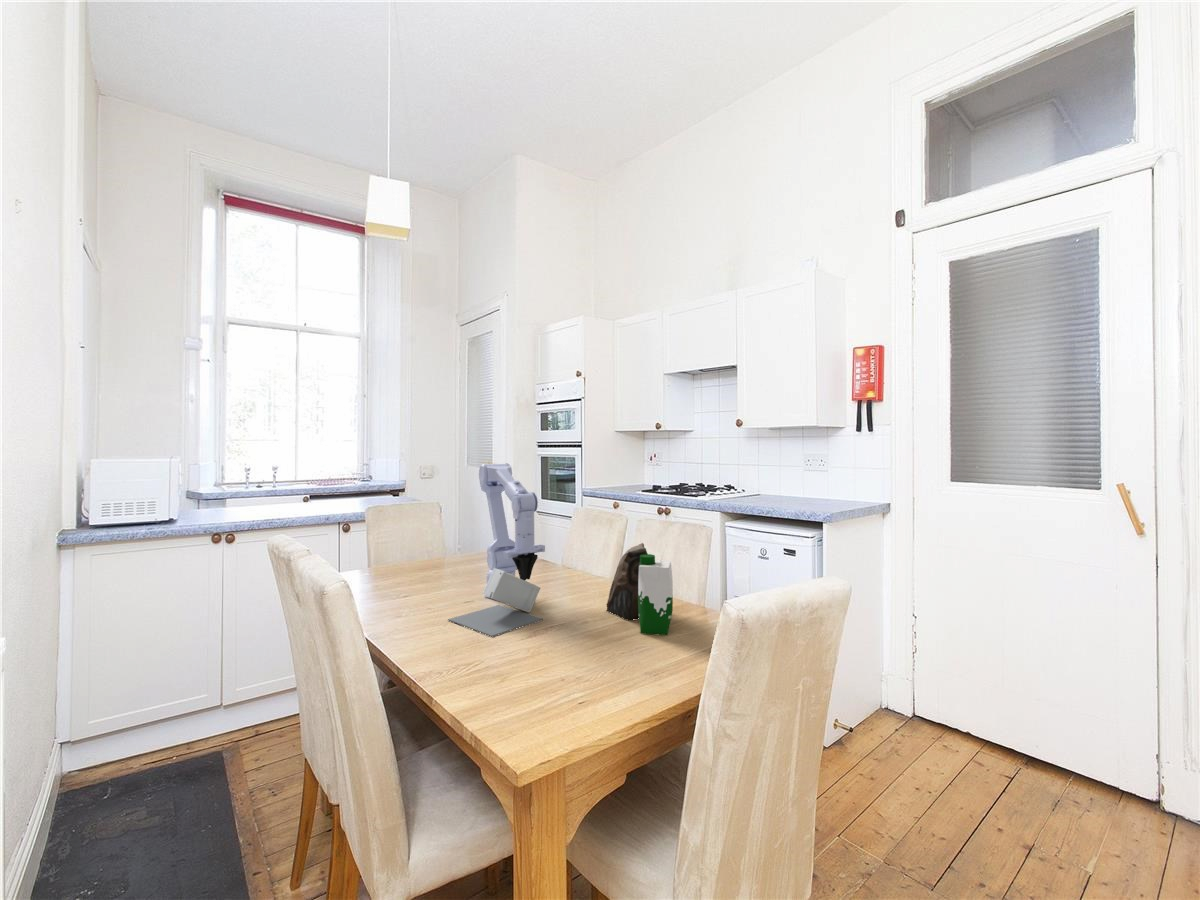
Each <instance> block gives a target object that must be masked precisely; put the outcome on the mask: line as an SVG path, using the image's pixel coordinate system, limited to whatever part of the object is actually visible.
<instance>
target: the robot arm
mask: <svg viewBox="0 0 1200 900" xmlns="http://www.w3.org/2000/svg"><path fill="white" fill-rule="evenodd" d="M478 479H479V485H480V489H481V491H482V492H483V493H485V495H486V499H487V500H486V501H487V506H488V512H489V519H490V523H491V530H492V537H493V542H492V543H490V544H489V546H488V547H487V550H486V554H487V555H486V557H487V558H486V563H487V567H488V568H489V571H488V572H487V575H486V583H487V582H488V580H489V578H490V576H491V574H492V571H493V569H494V568H496V569H499V570H502V571H504V572H506V573H509V574H511V575H513V576H515V577H516V571H517V573H518V576H519V578H520V579H522V580H525V581H527V580H530V579H531V575H532V571H533V568H534V566H535V563H536V562H537V560H538V558H539V557H538V554H537V553H544V552H546V545H545V544H537V545H536V544H535V512H537V510H538V508H539V507H538V506H539V504H538V497H537V495H536V493H535V492H530V491H528V490H527V489H526V488H525V487H524V486H523V484H522V483H521V481H519V480H515V479H514V477H513V469H512V465H510V464H509V463H508V462H507V463H506V462H505V463H489V464H488V463H482V464H481V465H480V466H479V469H478ZM502 492H504V493H505V495H506V497H507V498H508V500H509V501H510V503H511V510H512V517H513V519H514V540H512V539H511V538H510V536H509V532H508V531H509V530H508V525H507V519H506V518H507V517H506V514H505V513H506V512H505V507H504V504H503V503H504V502H503V497H502V496H503V495H502ZM484 598H487V599H491V600H493V599H492V598H490V597H488V596H486V595H485V594H484Z"/></svg>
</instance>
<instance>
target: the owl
mask: <svg viewBox="0 0 1200 900" xmlns="http://www.w3.org/2000/svg"><path fill="white" fill-rule="evenodd" d="M643 554H649V553H648V550H647V548H646V547H645V544H644V543H643V542H642V543H640V544H637V545H635V546H632V547H630V548H629V549H627V550H626V551H625V553H624V554H623V555H622V556H621V558H620V560H619V562H618V564H617V567H616V571H615V574H614V577H613V579H612V582H611V585H610V590H609V594H608V599H607V602H606V612H607V611H609V612H608V613H610V612H611V613H610V614H612V613H613V614H612V615H614V614H616V615H615V616H617V615H618V616H620V617H619V618H622V617H623V618H624V619H623V618H622V619H623V620H625V619H628V620H627V621H629V620H633V619H638V618H639V608H638V580H639V563H640V555H643ZM618 616H617V617H618ZM638 620H639V619H638Z"/></svg>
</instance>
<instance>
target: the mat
mask: <svg viewBox="0 0 1200 900" xmlns="http://www.w3.org/2000/svg"><path fill="white" fill-rule="evenodd" d="M448 620H449V621H448ZM541 620H542V621H543V620H544V618H542V617H539V616H536V615H534V614H533V615H532V614H530V613H528V612H523V611H521V610H520V611H519V610H516V609H515V608H514V609H513V608H512V607H508V606H504V605H500V604H497V605H494V606H490V607H486V608H483V609H479V610H476V611H472V612H469V613H465V614H461V615H459V616H455V617H452V618H447V621H448V622H450V621H451V623H453V622H454V623H453V624H456V623H457V624H456V625H458V624H459V625H458V626H461V625H462V626H461V627H464V626H465V627H464V628H466V627H467V628H466V629H469V628H470V630H471V629H473V630H472V631H474V630H475V631H474V632H477V631H478V632H477V633H479V632H481V633H480V634H482V633H483V635H485V634H486V635H485V636H487V635H489V636H488V637H490V636H491V637H490V638H493V637H492V636H494V637H496V635H497V636H499V635H498V634H500V635H502V634H501V633H503V634H505V633H504V632H506V633H508V632H507V631H509V632H511V631H510V630H512V631H514V630H513V629H515V630H517V629H516V628H518V629H520V628H519V627H521V628H523V627H522V626H524V627H526V626H525V625H527V626H529V624H530V625H533V624H535V622H536V623H539V622H542V621H541ZM538 621H539V622H538ZM532 623H533V624H532Z"/></svg>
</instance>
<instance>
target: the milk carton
mask: <svg viewBox="0 0 1200 900" xmlns="http://www.w3.org/2000/svg"><path fill="white" fill-rule="evenodd" d="M673 582H674V581H673V570H672V561H665V560H659V559H657V560H656V556H655V555H654V554H650V553H648V554H643V555H640V563H639V580H638V608H639V619H638V623H639V630H640V631H639V633H640V634H641V633H646V634H645V635H653V634H659V635H658V636H668V635H669V631H670V626H671V621H672V618H673V617H672V616H673V611H674V610H673V609H674V608H673V605H674V604H673V603H674V601H673V595H674V594H673V591H674V589H673V586H674V585H673Z"/></svg>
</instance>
